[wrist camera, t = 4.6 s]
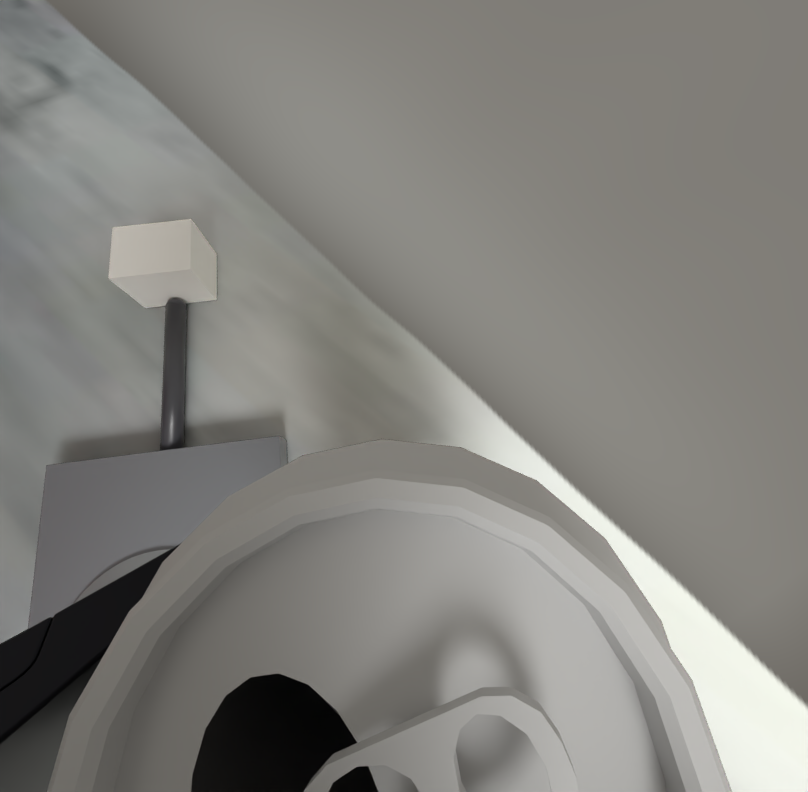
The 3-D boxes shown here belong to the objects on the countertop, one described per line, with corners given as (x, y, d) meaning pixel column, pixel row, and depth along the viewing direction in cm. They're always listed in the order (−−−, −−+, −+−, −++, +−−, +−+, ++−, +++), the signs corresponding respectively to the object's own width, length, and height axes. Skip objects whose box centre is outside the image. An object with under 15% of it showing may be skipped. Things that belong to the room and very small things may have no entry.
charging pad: (308, 897, 16) (287, 978, 13) (19, 942, 16) (-68, 1036, 13) (276, 247, 24) (259, 211, 22) (86, 268, 24) (42, 235, 21)
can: (271, 534, 16) (-107, 563, 4) (456, 462, 16) (577, 316, 5) (333, 762, 13) (-78, 2118, 2) (542, 668, 14) (1106, 1262, 3)
